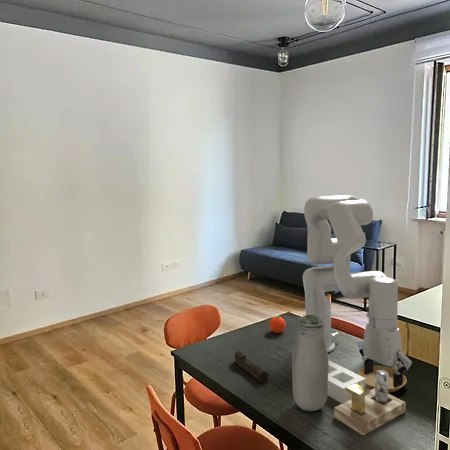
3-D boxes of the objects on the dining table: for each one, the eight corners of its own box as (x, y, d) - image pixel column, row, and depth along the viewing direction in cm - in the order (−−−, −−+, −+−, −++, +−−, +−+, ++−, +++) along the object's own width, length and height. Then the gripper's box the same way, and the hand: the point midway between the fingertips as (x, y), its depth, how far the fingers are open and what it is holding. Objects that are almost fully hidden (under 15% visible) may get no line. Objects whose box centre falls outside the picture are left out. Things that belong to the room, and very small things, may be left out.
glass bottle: (306, 421, 119) (305, 325, 115) (286, 403, 128) (285, 313, 124) (335, 412, 123) (335, 318, 119) (314, 395, 132) (313, 308, 128)
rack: (327, 373, 145) (327, 359, 144) (365, 393, 132) (365, 378, 131) (305, 382, 140) (305, 367, 139) (343, 404, 126) (343, 388, 126)
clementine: (269, 328, 186) (269, 312, 185) (285, 328, 186) (285, 312, 185) (269, 335, 178) (269, 319, 177) (286, 335, 178) (285, 319, 177)
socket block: (375, 396, 130) (375, 387, 129) (405, 412, 121) (405, 402, 121) (334, 417, 120) (334, 407, 120) (363, 435, 112) (363, 424, 111)
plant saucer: (409, 379, 140) (409, 371, 139) (402, 401, 127) (402, 392, 127) (363, 369, 147) (363, 362, 147) (352, 389, 135) (352, 381, 134)
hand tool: (269, 382, 141) (269, 369, 140) (259, 385, 139) (258, 371, 139) (242, 360, 158) (241, 348, 157) (232, 362, 156) (232, 350, 156)
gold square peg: (357, 413, 121) (357, 382, 120) (369, 420, 117) (370, 389, 116) (346, 418, 119) (346, 387, 117) (359, 426, 115) (359, 394, 114)
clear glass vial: (380, 404, 126) (380, 368, 124) (390, 409, 123) (391, 373, 121) (372, 408, 124) (372, 372, 122) (382, 413, 121) (383, 377, 119)
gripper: (349, 316, 125) (349, 372, 127) (402, 333, 110) (401, 396, 112) (366, 311, 129) (366, 365, 131) (419, 327, 114) (418, 387, 116)
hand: (382, 379), depth 122 cm, fingers open, 9 cm apart
